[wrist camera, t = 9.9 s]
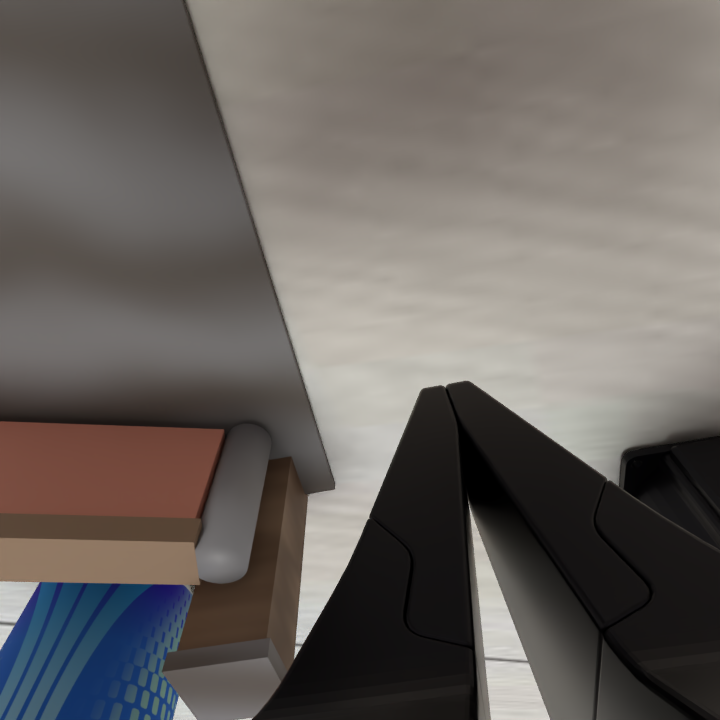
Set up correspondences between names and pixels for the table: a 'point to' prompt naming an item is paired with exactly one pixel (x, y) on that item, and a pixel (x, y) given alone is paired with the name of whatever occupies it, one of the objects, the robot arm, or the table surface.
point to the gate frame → (150, 296)
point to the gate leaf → (129, 502)
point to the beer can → (93, 652)
